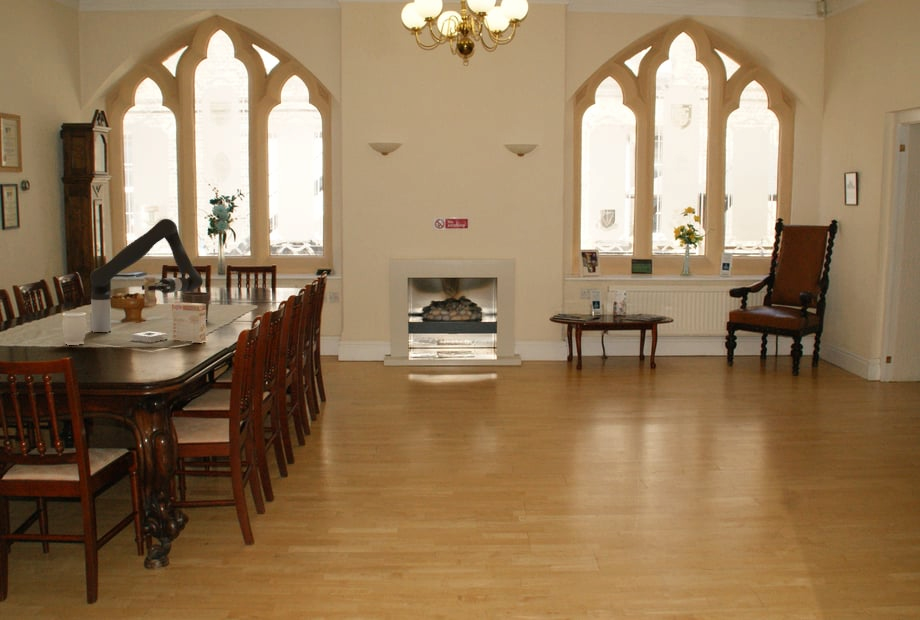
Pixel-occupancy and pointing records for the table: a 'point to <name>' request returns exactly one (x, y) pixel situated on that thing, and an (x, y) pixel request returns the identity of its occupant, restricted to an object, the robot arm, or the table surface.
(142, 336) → the socket block
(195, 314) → the coffeecake box
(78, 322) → the jar
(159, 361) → the table surface
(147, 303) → the peg
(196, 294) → the plant pot
